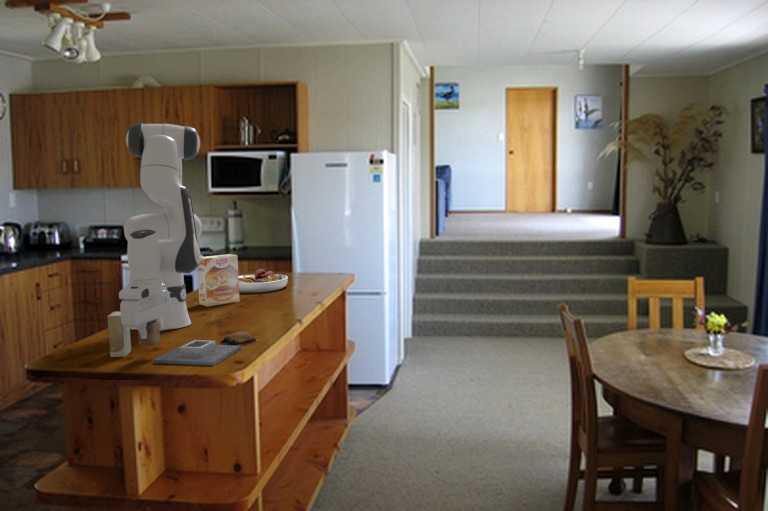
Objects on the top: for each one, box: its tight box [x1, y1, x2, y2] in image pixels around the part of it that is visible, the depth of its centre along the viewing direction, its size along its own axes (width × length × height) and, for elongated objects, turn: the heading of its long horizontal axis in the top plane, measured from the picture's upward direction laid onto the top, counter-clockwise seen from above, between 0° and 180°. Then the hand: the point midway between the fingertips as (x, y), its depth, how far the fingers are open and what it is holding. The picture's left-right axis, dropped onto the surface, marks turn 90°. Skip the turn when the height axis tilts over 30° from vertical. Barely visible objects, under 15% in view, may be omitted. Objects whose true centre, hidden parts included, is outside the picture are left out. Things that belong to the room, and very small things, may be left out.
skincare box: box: [107, 310, 132, 358], centre depth 194 cm, size 6×4×12 cm
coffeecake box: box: [197, 253, 240, 307], centre depth 274 cm, size 15×7×20 cm, turn 131°
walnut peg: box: [137, 322, 162, 346], centre depth 190 cm, size 5×3×6 cm, turn 78°
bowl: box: [238, 268, 289, 294], centre depth 311 cm, size 30×30×8 cm
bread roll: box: [219, 331, 260, 346], centre depth 207 cm, size 11×8×4 cm
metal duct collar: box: [152, 339, 242, 367], centre depth 191 cm, size 18×18×4 cm
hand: (149, 336), depth 190 cm, fingers closed on walnut peg, 3 cm apart
